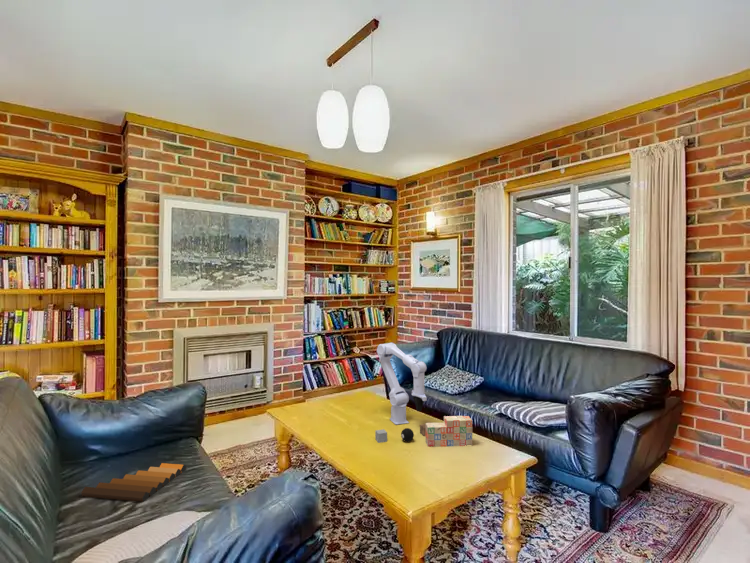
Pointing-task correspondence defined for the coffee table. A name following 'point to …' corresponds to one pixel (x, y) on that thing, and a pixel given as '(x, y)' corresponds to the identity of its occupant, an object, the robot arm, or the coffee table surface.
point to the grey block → (381, 436)
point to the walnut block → (422, 429)
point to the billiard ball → (407, 434)
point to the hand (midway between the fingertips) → (419, 410)
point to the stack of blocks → (450, 432)
